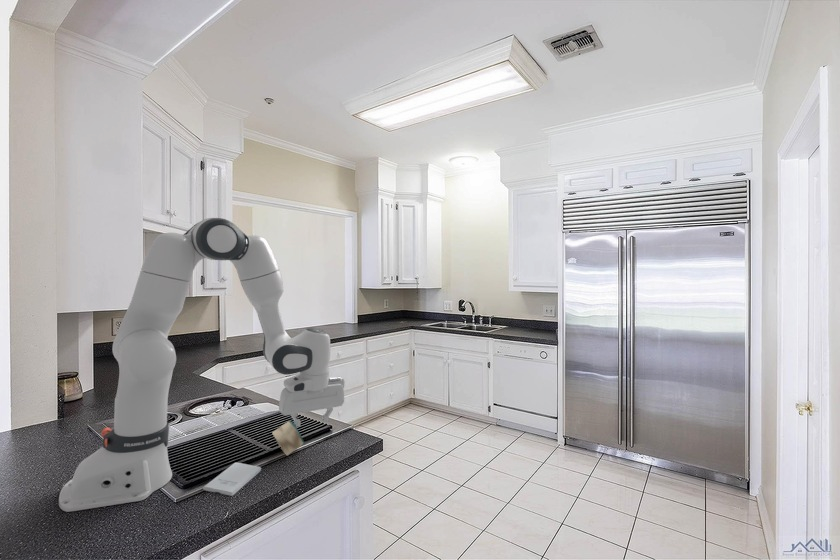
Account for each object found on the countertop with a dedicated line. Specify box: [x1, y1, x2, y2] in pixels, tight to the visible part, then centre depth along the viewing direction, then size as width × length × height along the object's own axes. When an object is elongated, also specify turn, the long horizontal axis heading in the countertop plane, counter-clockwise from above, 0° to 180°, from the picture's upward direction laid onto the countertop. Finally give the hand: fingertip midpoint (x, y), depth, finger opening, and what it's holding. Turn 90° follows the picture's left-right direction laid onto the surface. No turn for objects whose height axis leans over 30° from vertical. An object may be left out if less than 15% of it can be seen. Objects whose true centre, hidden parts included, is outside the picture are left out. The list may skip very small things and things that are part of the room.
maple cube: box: [271, 420, 305, 456], centre depth 126 cm, size 6×6×6 cm
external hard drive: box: [202, 462, 262, 497], centre depth 109 cm, size 2×8×12 cm
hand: (311, 423), depth 130 cm, fingers open, 8 cm apart
